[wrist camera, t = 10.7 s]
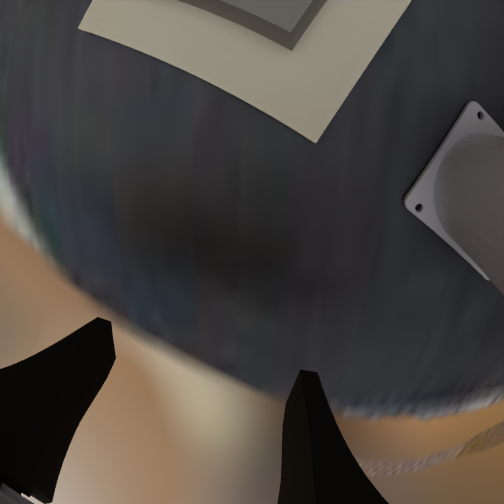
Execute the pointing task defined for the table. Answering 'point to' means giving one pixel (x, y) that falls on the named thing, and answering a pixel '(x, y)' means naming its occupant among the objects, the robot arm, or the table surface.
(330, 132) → the table surface
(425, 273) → the table surface
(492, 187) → the robot arm
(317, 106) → the socket block on plate
